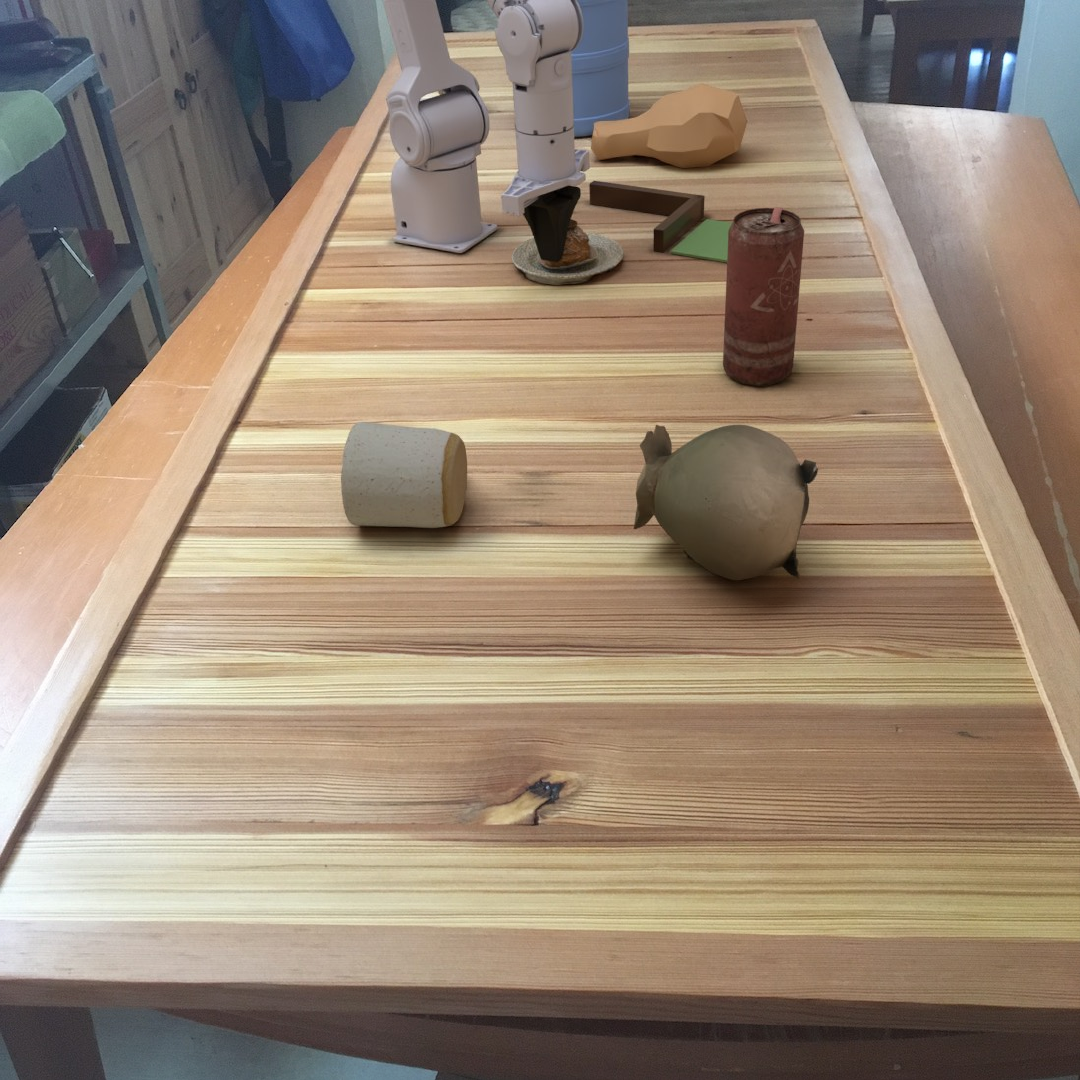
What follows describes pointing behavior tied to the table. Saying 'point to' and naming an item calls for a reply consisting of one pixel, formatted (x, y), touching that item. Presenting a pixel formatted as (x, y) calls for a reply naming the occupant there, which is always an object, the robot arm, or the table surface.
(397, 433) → the ceramic mug
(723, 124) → the squash
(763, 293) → the can
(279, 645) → the table surface
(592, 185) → the corner guide
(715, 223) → the green rag
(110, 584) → the table surface
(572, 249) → the pastry
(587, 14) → the water jug
